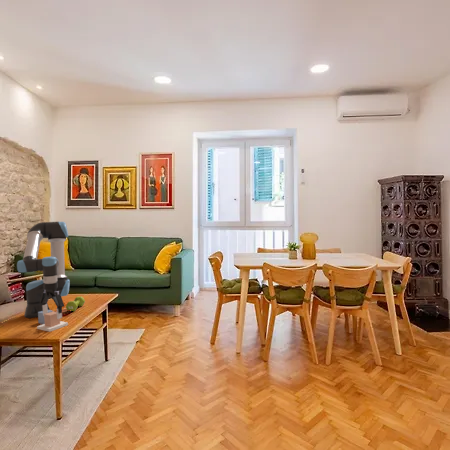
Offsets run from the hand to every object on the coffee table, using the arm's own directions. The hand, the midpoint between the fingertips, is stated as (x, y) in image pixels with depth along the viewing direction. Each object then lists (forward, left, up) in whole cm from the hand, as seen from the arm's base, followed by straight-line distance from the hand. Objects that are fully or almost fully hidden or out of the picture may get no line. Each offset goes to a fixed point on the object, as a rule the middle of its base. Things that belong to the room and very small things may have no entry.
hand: (52, 316), depth 192 cm
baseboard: (0, 0, -6) cm, 6 cm away
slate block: (-13, +4, -6) cm, 14 cm away
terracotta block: (+1, -1, -5) cm, 5 cm away
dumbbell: (-21, +31, -7) cm, 38 cm away
